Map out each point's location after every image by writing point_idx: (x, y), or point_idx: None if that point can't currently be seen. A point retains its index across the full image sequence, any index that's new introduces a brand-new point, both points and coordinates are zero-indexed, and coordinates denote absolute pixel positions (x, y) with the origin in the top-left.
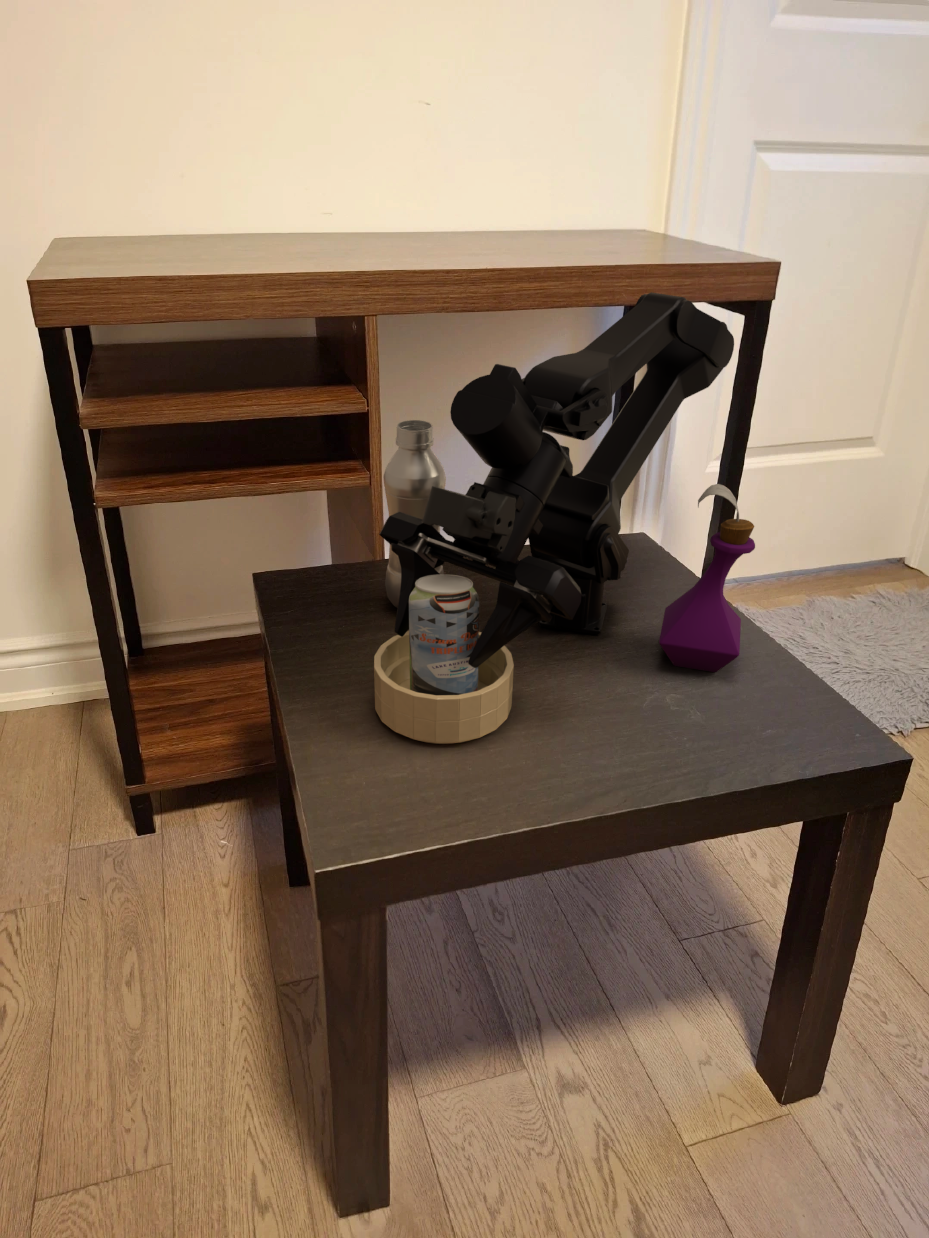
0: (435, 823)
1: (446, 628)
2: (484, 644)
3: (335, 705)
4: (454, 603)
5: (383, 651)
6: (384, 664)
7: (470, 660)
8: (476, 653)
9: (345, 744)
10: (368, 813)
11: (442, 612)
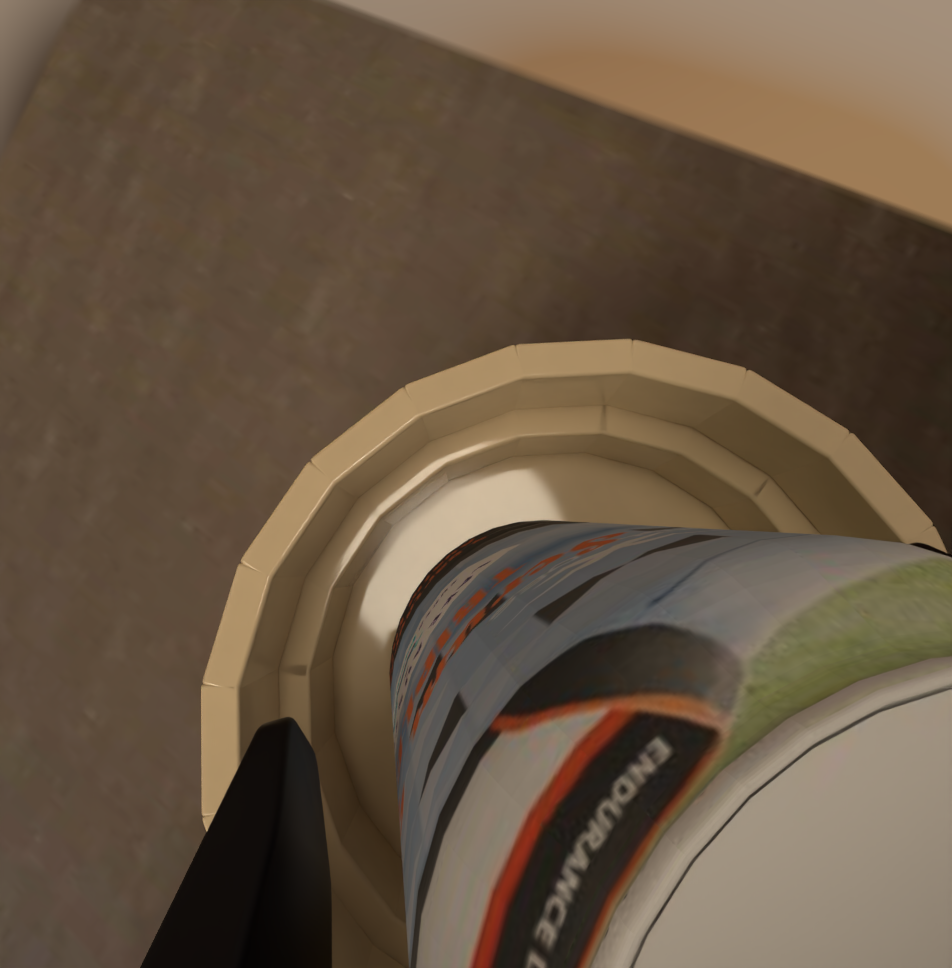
0: (44, 268)
1: (455, 689)
2: (188, 882)
3: (801, 341)
4: (473, 907)
5: (866, 496)
6: (822, 508)
7: (269, 731)
8: (240, 790)
9: (566, 250)
10: (214, 131)
11: (506, 700)
